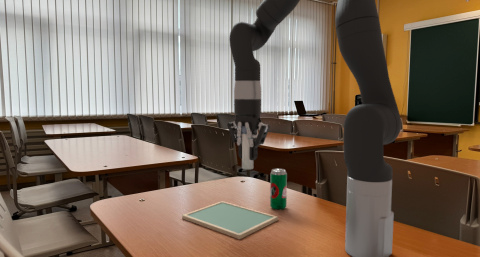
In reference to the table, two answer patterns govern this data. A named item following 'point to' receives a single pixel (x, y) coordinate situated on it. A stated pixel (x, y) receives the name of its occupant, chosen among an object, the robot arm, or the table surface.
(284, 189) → the soda can
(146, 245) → the table surface
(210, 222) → the slate
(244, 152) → the marker
